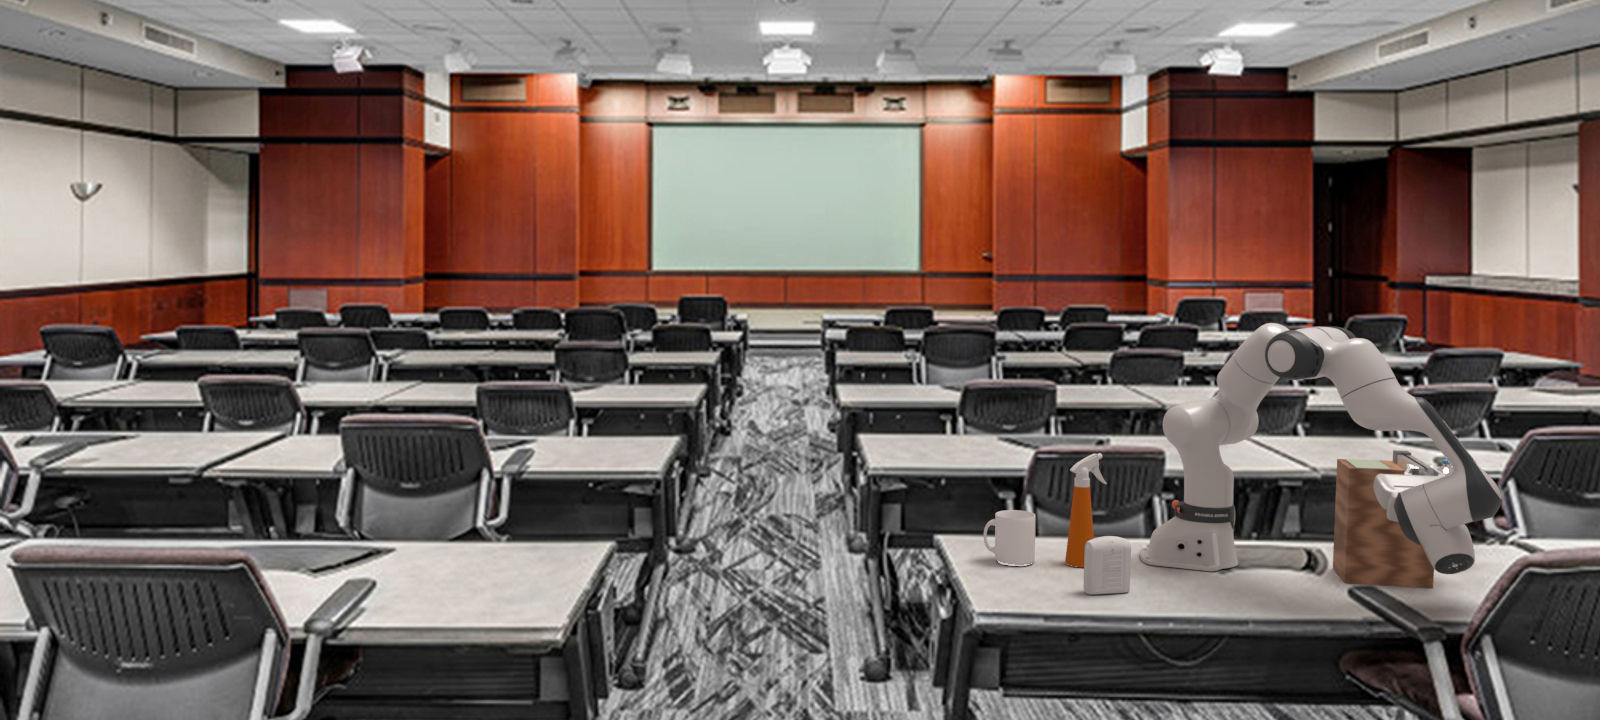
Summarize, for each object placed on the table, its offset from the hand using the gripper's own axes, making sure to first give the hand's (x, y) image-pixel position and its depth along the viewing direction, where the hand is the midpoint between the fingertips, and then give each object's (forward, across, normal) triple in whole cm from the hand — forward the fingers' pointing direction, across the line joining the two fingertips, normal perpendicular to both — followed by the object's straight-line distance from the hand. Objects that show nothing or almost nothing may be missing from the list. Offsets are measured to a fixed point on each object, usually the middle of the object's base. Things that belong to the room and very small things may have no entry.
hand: (1419, 466), depth 246 cm
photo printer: (-27, +65, +17) cm, 72 cm away
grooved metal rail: (+4, 0, +4) cm, 6 cm away
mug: (-9, +87, +27) cm, 91 cm away
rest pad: (+8, +8, +6) cm, 13 cm away
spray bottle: (-7, +69, +28) cm, 75 cm away
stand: (-5, +4, +29) cm, 30 cm away
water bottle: (+9, -13, +37) cm, 40 cm away
